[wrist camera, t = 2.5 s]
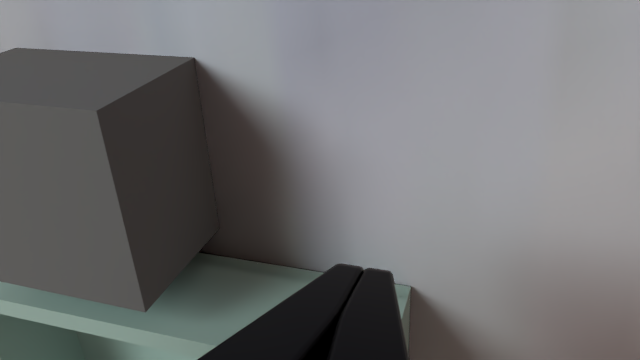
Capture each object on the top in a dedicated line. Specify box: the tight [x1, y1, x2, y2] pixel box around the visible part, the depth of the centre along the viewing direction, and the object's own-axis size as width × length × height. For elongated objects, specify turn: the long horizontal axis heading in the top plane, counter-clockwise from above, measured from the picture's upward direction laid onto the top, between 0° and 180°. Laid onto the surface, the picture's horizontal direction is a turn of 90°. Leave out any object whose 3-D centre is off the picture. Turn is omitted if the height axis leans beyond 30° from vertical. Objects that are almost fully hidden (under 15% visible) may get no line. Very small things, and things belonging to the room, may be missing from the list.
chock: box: [0, 48, 219, 313], centre depth 13 cm, size 4×5×4 cm
